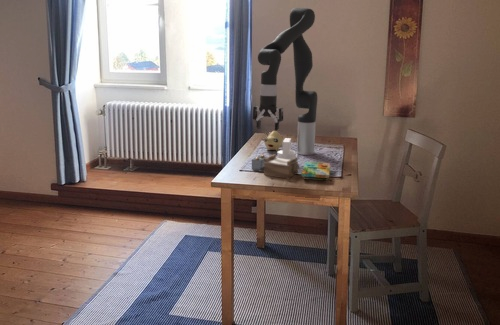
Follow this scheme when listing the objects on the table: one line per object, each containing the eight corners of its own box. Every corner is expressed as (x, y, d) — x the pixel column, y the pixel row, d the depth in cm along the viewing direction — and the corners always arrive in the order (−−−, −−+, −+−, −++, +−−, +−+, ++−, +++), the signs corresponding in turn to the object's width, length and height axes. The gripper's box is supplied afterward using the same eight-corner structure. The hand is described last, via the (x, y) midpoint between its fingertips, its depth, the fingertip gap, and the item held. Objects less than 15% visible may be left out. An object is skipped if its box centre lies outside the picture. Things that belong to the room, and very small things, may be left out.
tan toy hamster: (261, 152, 259) (261, 132, 256) (267, 147, 270) (267, 128, 267) (278, 153, 256) (279, 134, 253) (284, 148, 267) (284, 129, 264)
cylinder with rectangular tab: (294, 166, 231) (295, 142, 228) (275, 165, 233) (276, 141, 230) (296, 162, 240) (297, 138, 236) (278, 161, 241) (279, 137, 238)
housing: (259, 165, 233) (259, 154, 232) (267, 166, 231) (267, 155, 230) (251, 169, 226) (251, 157, 225) (260, 170, 224) (260, 158, 223)
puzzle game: (330, 161, 224) (329, 173, 205) (330, 171, 225) (328, 183, 206) (305, 160, 226) (301, 171, 207) (305, 169, 228) (301, 182, 209)
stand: (273, 169, 226) (274, 153, 224) (297, 172, 221) (297, 157, 219) (264, 174, 218) (264, 158, 216) (288, 178, 212) (288, 162, 210)
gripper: (286, 94, 218) (284, 129, 222) (257, 92, 224) (256, 127, 228) (280, 96, 212) (279, 132, 215) (250, 94, 217) (250, 129, 221)
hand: (267, 129), depth 222 cm, fingers open, 8 cm apart
